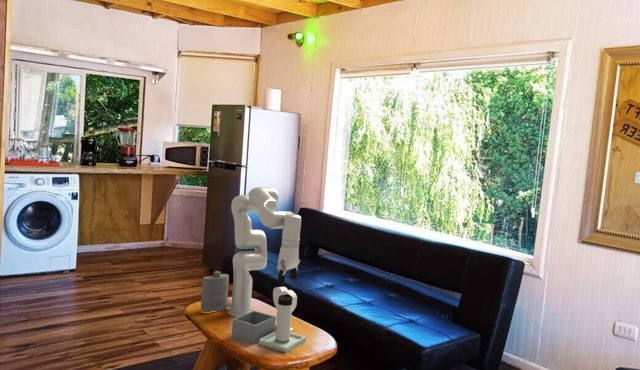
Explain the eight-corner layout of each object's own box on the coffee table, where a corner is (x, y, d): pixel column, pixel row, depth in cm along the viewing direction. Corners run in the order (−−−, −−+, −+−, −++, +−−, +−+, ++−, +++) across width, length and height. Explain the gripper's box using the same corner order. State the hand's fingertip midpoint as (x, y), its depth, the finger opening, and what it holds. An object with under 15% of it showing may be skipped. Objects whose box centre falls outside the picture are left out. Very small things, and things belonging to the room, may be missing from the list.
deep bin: (231, 336, 223) (232, 319, 222) (252, 327, 236) (253, 310, 236) (254, 343, 217) (255, 325, 216) (274, 333, 231) (276, 316, 230)
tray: (258, 344, 217) (259, 339, 217) (279, 333, 231) (279, 329, 231) (286, 353, 210) (286, 348, 210) (305, 341, 224) (305, 336, 224)
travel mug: (291, 339, 223) (295, 295, 221) (286, 344, 217) (289, 299, 215) (278, 336, 225) (282, 292, 223) (272, 341, 219) (276, 296, 217)
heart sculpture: (295, 330, 237) (299, 293, 236) (287, 332, 234) (290, 294, 233) (278, 319, 249) (280, 284, 248) (269, 321, 246) (272, 285, 245)
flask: (205, 314, 247) (208, 275, 246) (198, 311, 251) (201, 272, 250) (229, 309, 259) (232, 271, 257) (222, 306, 263) (225, 268, 261)
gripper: (293, 239, 227) (290, 276, 228) (272, 244, 211) (268, 283, 213) (307, 241, 223) (304, 279, 224) (287, 247, 208) (283, 287, 209)
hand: (287, 281), depth 219 cm, fingers open, 9 cm apart
